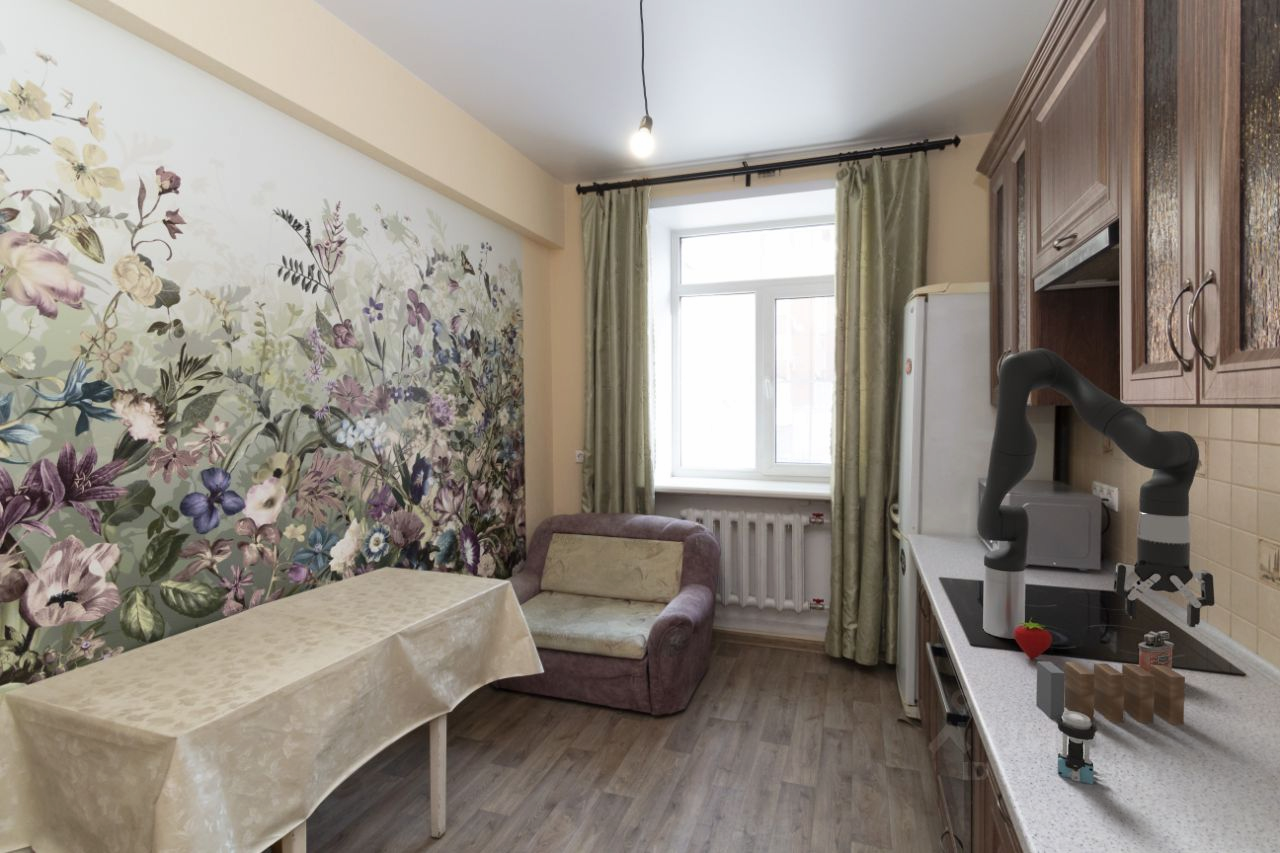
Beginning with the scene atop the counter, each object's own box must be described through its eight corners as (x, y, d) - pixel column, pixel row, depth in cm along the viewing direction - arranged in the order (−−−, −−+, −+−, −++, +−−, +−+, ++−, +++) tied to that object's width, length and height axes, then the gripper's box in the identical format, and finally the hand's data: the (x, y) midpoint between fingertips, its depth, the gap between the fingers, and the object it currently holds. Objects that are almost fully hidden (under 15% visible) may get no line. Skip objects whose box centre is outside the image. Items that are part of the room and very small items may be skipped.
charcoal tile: (1050, 718, 115) (1051, 672, 115) (1036, 705, 120) (1037, 661, 120) (1064, 719, 115) (1064, 673, 114) (1049, 706, 120) (1050, 661, 119)
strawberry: (1052, 667, 137) (1053, 623, 136) (1013, 660, 141) (1014, 618, 140) (1050, 657, 142) (1051, 615, 141) (1013, 650, 146) (1013, 610, 145)
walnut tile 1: (1169, 723, 113) (1170, 676, 112) (1149, 710, 118) (1151, 664, 117) (1183, 724, 113) (1184, 677, 112) (1163, 710, 118) (1164, 665, 117)
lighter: (1149, 684, 128) (1151, 637, 128) (1133, 676, 132) (1134, 631, 131) (1177, 678, 131) (1178, 633, 130) (1160, 672, 134) (1161, 627, 133)
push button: (1105, 776, 98) (1106, 716, 97) (1107, 794, 93) (1108, 731, 93) (1055, 763, 101) (1056, 704, 101) (1055, 779, 97) (1056, 719, 97)
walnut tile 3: (1109, 721, 114) (1110, 674, 114) (1092, 707, 119) (1093, 663, 119) (1123, 722, 114) (1124, 675, 113) (1105, 708, 119) (1106, 663, 118)
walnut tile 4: (1080, 720, 115) (1080, 673, 114) (1064, 706, 120) (1065, 662, 119) (1093, 720, 114) (1094, 674, 114) (1077, 707, 119) (1078, 662, 119)
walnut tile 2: (1139, 722, 113) (1140, 675, 113) (1121, 709, 118) (1122, 664, 118) (1153, 723, 113) (1154, 676, 113) (1134, 709, 118) (1135, 664, 118)
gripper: (1119, 537, 114) (1118, 622, 114) (1220, 545, 107) (1218, 635, 107) (1111, 530, 120) (1110, 610, 121) (1206, 536, 113) (1204, 621, 114)
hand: (1161, 622), depth 114 cm, fingers open, 8 cm apart
